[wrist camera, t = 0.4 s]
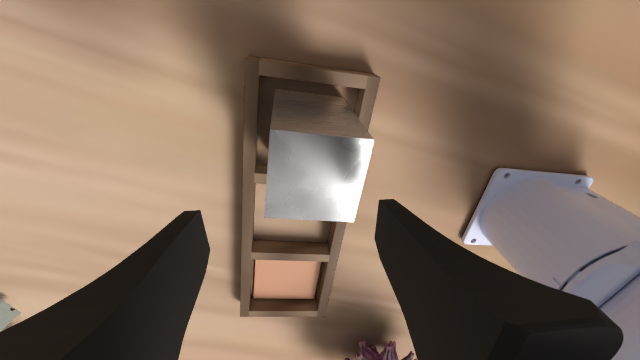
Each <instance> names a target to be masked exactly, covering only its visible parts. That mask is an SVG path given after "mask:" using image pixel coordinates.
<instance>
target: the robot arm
mask: <svg viewBox="0 0 640 360" xmlns="http://www.w3.org/2000/svg"><path fill="white" fill-rule="evenodd" d="M506 173H507V174H506ZM505 174H506V175H505ZM504 175H505V176H504ZM592 182H593V178H592V177H590V176H585V175H575V174H564V173H553V172H542V171H531V170H520V169H509V168H498V169H497V170H495V172H494V173H493V175H492V177H491V179H490V181H489V184H488V186H487V188H486V190H485V192H484V194H483V196H482V198H481V200H480V202H479V204H478V206H477V208H476V210H475V212H474V214H473V216H472V218H471V221H470V223H469V225H468V227H467V229H466V231H465V233H464V235H463V237H462V242H463V243H464V244H469V245H493V246H494V247H495V248H496V249H497V250H498V252H499V253H500V254H501V255H502V256H503V257H504V258H505V259H506V260H507V261H508V263H509V264H510V265H511V266H512V267H513V268H514V269H515V270H516V271H517V272H518V273H519V275H518V274H516V273H514V272H511V271H509V270H507V269H505V268H502V267H500V266H498V265H496V264H494V263H492V262H490V261H487V260H485V259H484V258H482V257H480V256H478V255H476V254H474V253H472V252H470V251H469V250H467V249H465V248H463V247H461V246H460V245H458V244H456V243H455V242H453V241H451V240H450V239H448V238H447V237H445V236H444V235H442V234H441V233H439V232H438V231H436V230H435V229H433V228H432V227H430V226H429V225H428V224H426V223H425V222H424V221H422V220H421V219H419V218H418V217H417V216H415V215H414V214H413V213H412V212H410V211H409V210H408V209H406V208H405V207H404V206H402V205H401V204H400V203H398V202H397V201H396V200H394V199H387V200H379V205H378V214H377V222H376V231H375V242H376V245H377V249H378V253H379V256H380V260H381V262H382V264H383V267H384V269H385V272H386V274H387V276H388V279H389V281H390V283H391V286H392V288H393V290H394V293H395V295H396V297H397V300H398V302H399V304H400V307H401V309H402V312H403V314H404V317H405V320H406V323H407V326H408V329H409V333H410V336H411V339H412V342H413V346H414V349H415V352H416V356H417V359H418V360H640V217H638V216H636V215H634V214H632V213H631V212H629V211H627V210H625V209H624V208H622V207H620V206H618V205H616V204H615V203H613V202H611V201H609V200H607V199H606V198H604V197H602V196H600V195H599V194H597V193H595V192H593V191H591V190H590V189H588V188H589V187H590V186H591V184H592ZM209 253H210V247H209V243H208V239H207V235H206V231H205V227H204V223H203V219H202V215H201V211H200V210H196V211H184V212H183V213H181V214H180V215H179V216H177V217H176V218H175V219H174V220H173V221H172V222H170V223H169V224H168V225H167V226H166V227H164V228H163V229H162V230H161V231H160V232H159V233H157V234H156V235H155V236H154V237H153V238H151V239H150V240H149V241H148V242H147V243H145V244H144V245H143V246H141V247H140V248H139V249H138V250H136V251H135V252H134V253H132V254H131V255H130V256H128V257H127V258H126V259H125V260H123V261H122V262H121V263H119V264H118V265H116V266H115V267H114V268H112V269H111V270H109V271H108V272H106V273H105V274H103V275H102V276H100V277H99V278H97V279H96V280H94V281H93V282H91V283H90V284H88V285H86V286H85V287H83V288H81V289H80V290H78V291H76V292H75V293H73V294H71V295H69V296H68V297H66V298H64V299H63V300H61V301H59V302H57V303H56V304H54V305H52V306H50V307H49V308H47V309H45V310H43V311H41V312H39V313H37V314H35V315H34V316H32V317H30V318H28V319H26V320H24V321H22V322H20V323H18V324H16V325H14V326H12V327H10V328H8V329H6V330H4V331H2V332H0V360H178V358H179V354H180V349H181V345H182V341H183V337H184V334H185V331H186V328H187V325H188V322H189V319H190V316H191V313H192V310H193V308H194V305H195V302H196V299H197V296H198V293H199V291H200V288H201V285H202V282H203V279H204V276H205V273H206V268H207V264H208V258H209Z"/></svg>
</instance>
